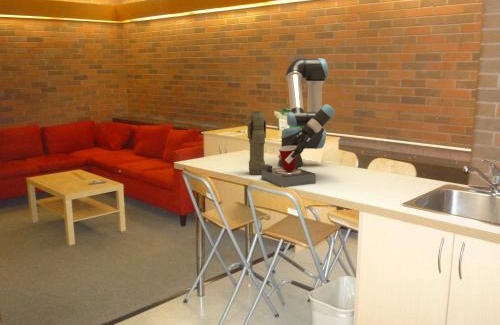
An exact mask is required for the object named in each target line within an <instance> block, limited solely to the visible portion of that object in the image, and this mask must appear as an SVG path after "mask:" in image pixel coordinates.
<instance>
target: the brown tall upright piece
mask: <svg viewBox="0 0 500 325" xmlns="http://www.w3.org/2000/svg"><path fill="white" fill-rule="evenodd" d="M249 119H250V120H248V122H247V139H248V142H249V161H248V171H249V172H248V174H249V175H252V176H261V170H262V169H263V165H264V164H266V163H265V162H266V161H265V143H266V141H265V140H266V138H267V121H266V120H265V116H264V112H262V111H258V110H257V111H256V110H255V111H253V112H251V114H250V118H249Z"/></svg>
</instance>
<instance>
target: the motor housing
mask: <svg viewBox="0 0 500 325" xmlns="http://www.w3.org/2000/svg"><path fill="white" fill-rule="evenodd" d="M316 175H317V174H316V173H314V172H311V171H308V170H305V169H302V168H300V167H295V169H294V170H284V168H283V167H276V168H273V165H272V164H268V163H265V164H264V165H263V169H262V170H261V175H260V177H261V180H264V181H266V182H268V183H271V184H273V185H276V186H278V187H281V186H283V187H282V188H288V187H297V186H303V185H312V184H316V177H317V176H316Z"/></svg>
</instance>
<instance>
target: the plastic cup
mask: <svg viewBox="0 0 500 325" xmlns="http://www.w3.org/2000/svg"><path fill="white" fill-rule="evenodd" d="M296 147H297V146H283V147H281V146H280V147H278V148H277V150H278V151H279V154H281V159H282V163H283V167H282V168H284V170H294V169H295V164H296V158H297V155H296V156H295V158H294V159H293V160H292V161H291V162H290V163H287V162H286V161H285V159H286V158H287V157H288V156H289V155H290V154H291V153H292V152H293V151H294V149H296Z"/></svg>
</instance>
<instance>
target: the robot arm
mask: <svg viewBox="0 0 500 325" xmlns="http://www.w3.org/2000/svg"><path fill="white" fill-rule="evenodd" d="M328 78H329V68H328V63H327V60H326V59H325V58H319V57H316V58H315V57H314V58H313V57H312V58H311V57H310V58H309V57H306V58H305V57H304V58H303V57H299V58H297V59H295V60H293V61H291V63H290V64H289V65H288V67H287V69H286V72H285V80H286V82H287V84H288V97H289V99H288V102H289V112H287V114H286V123H287V126H291V127H288V128H284V129H282V131H281V135H280V138H281V143H280V144H281V146H280V147H283V146H297V147H296V149H294V151H293V152H292V153H291V154H290V155H289V156H288V157H287V158H286V159H285V161H286V162H287V163H290V162H291V161H292V160H293V159H294V158H295V156H296V155H297V158H296V164H295V167H296V168H300V167H303V166H304V162H303V159H302V153H303V152H304V150H307V149H308V150H309V149H310V150H312V149H314V150H318V149H323V148H324V147H325V143H326V141H327V140H326V139H327V130H326V129H324V127H325V125H327V123H329V121H330V120H331V119H332V118H333V117H334V115H335V114H336V111H335V109H334V108H333V107H332V106H331V105H330V104H328V103H327V104H324V105H323V104H322V103H323V84H324V83H326V79H328ZM303 79H305V82H306V84H307V103H306V104H307V106H306V107H307V110H306V111H304V99H303V87H302V80H303ZM301 127H302V128H301ZM277 158H279V159H278V162H277V163H278V164H277V166H279V167H280V168H283V163H282V159H281V154H280V153H279V154H278V155H277Z"/></svg>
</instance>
